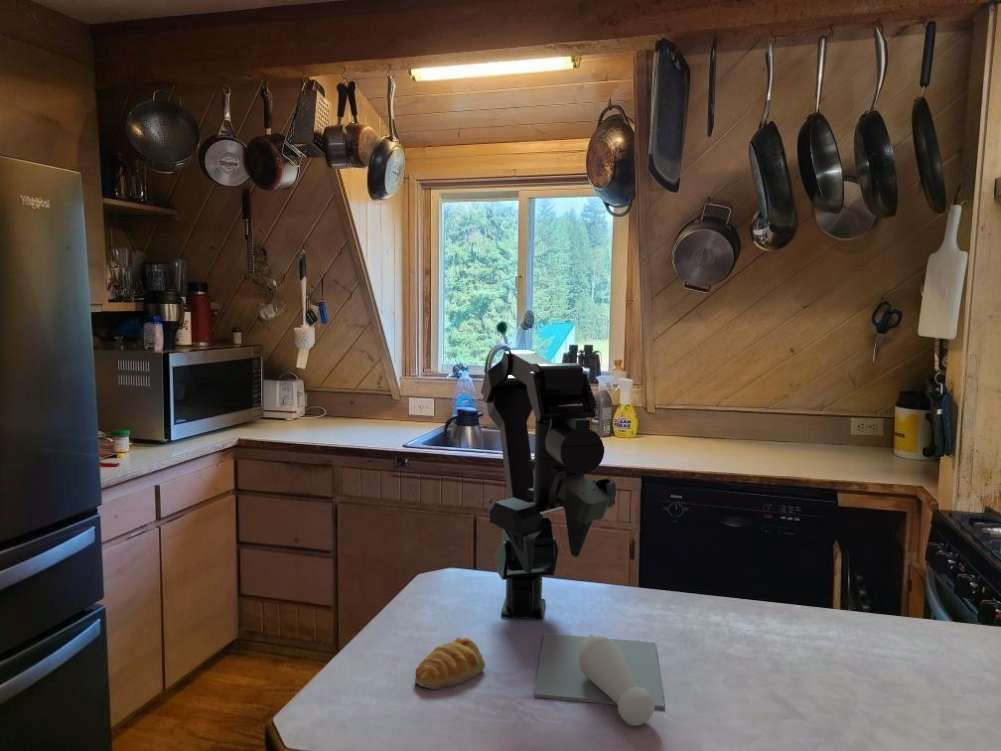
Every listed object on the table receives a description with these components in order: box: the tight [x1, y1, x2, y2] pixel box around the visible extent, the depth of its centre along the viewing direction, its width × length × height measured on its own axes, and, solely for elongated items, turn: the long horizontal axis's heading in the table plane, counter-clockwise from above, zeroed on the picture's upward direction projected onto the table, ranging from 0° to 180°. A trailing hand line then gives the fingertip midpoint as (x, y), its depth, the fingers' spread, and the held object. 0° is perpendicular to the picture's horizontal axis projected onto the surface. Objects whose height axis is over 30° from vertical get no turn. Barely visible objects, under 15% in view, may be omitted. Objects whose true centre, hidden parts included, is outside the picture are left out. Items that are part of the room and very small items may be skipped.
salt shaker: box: [578, 634, 656, 727], centre depth 89 cm, size 6×6×13 cm
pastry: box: [414, 637, 486, 690], centre depth 94 cm, size 9×7×4 cm
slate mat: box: [533, 632, 665, 710], centre depth 96 cm, size 16×16×1 cm
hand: (552, 563), depth 99 cm, fingers open, 9 cm apart
